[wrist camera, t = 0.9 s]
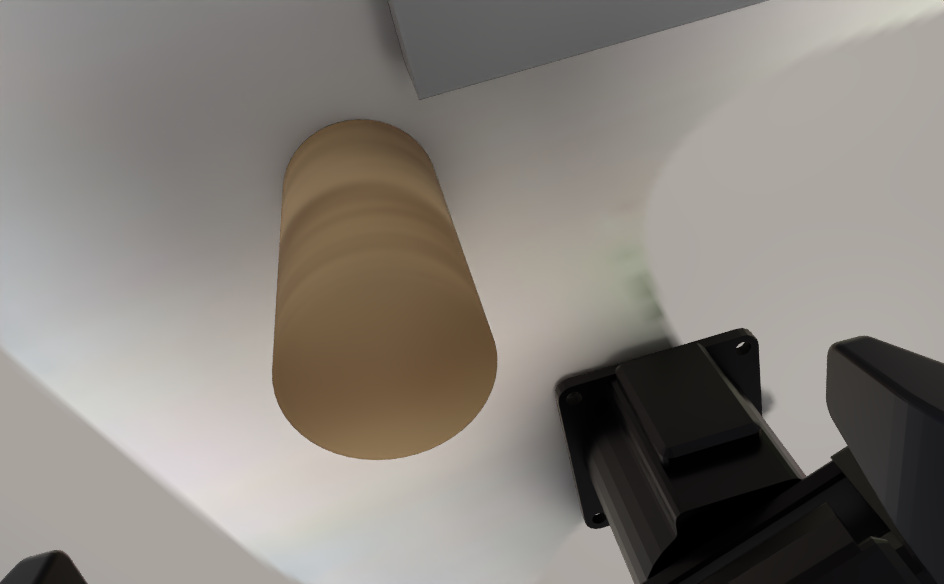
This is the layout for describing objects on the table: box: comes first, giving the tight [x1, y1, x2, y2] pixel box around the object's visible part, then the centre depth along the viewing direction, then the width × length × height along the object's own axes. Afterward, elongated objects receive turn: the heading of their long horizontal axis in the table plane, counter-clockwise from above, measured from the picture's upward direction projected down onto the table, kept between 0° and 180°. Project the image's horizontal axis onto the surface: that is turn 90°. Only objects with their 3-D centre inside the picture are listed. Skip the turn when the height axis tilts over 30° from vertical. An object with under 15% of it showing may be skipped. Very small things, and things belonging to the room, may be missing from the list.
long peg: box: [272, 119, 497, 460], centre depth 18 cm, size 4×4×8 cm
